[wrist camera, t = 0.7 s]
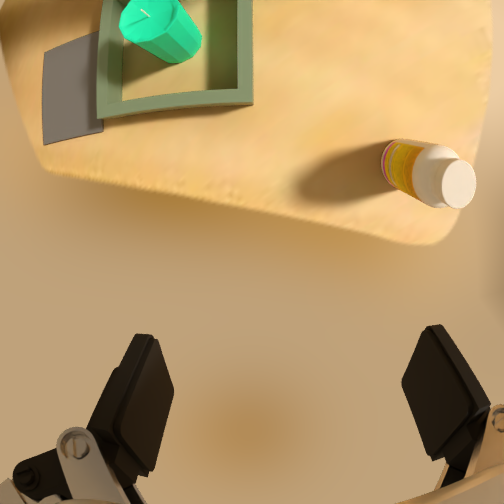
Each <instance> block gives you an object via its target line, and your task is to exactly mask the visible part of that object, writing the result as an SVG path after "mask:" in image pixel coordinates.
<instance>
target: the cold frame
mask: <svg viewBox="0 0 504 504" xmlns="http://www.w3.org/2000/svg"><path fill="white" fill-rule="evenodd" d="M129 2H130V0H103V5H102V12H101V21H100V30H99V42H98V57H97V119H113V118H119V117H124V116H130V115H136V114H143V113H150V112H157V111H166V110H175V109H185V108H196V107H211V106H233V105H253V0H237V69H238V89H219V90H204V91H192V92H182V93H173V94H165V95H158V96H151V97H144V98H138V99H133V100H127V101H122V60H123V40H124V36H123V34H122V33H121V31H120V29H119V22H120V17H121V13H122V11H123V10H124V9H125V7H126V6H127V5H128V3H129Z"/></svg>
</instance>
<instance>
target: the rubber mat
mask: <svg viewBox="0 0 504 504" xmlns="http://www.w3.org/2000/svg"><path fill="white" fill-rule="evenodd" d="M98 42H99V31H97V32H94V33H91V34H89V35H86V36H83V37H80V38H78V39H75V40H72V41H70V42H67V43H65V44H63V45H60V46H58V47H56V48H53V49H51V50H49V51H47V52H45V54H44V66H43V86H42V120H43V141H44V145H46V144H50V143H53V142H57V141H61V140H65V139H70V138H74V137H78V136H83V135H88V134H92V133H98V132H103V119H97V57H98Z"/></svg>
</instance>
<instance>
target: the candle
mask: <svg viewBox="0 0 504 504" xmlns="http://www.w3.org/2000/svg"><path fill="white" fill-rule="evenodd" d="M119 29H120V31H121V33H122V34H123V36H124V38H125V39H127V40H129V41H131V42H132V43H134V44H136V45H138V46H140V47H141V48H143V49H145V50H147V51H148V52H150V53H152V54H153V55H155V56H157V57H158V58H160V59H162V60H164V61H166V62H168V63H182V62H184V61H186V60H188V59H190V58H192V57H193V56H194V55H195V53H196V52H197V51H198V50H199V48H200V47H201V40H202V35H201V33H200V32H199V30H198V28H197V26H196V25H195V23H194V22H193V21H192V19H191V18H190V16H189V15H188V14H187V12H186V11H185V9H184V8H183V7H182V5H181V4H180V3H179V1H178V0H130V2H129V3H128V5H127V6H126V7H125V9H124V10H123V11H122V13H121V17H120V22H119Z"/></svg>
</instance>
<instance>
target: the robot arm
mask: <svg viewBox="0 0 504 504" xmlns="http://www.w3.org/2000/svg"><path fill="white" fill-rule="evenodd" d="M402 388H403V391H404V393H405V396H406V398H407V401H408V403H409V406H410V409H411V411H412V414H413V417H414V419H415V422H416V425H417V428H418V430H419V433H420V436H421V439H422V442H423V445H424V448H425V451H426V453H427V455H429V456H431V459H432V461H435V460H437V459H440V458H443V457H445V460H446V464H445V466H444V469H443V471H442V474H441V476H440V478H439V481H438V483H437V485H436V487H435V489H434V491H432V492H429V493H427V494H424V495H421V496H418V497H415V498H412V499H409V500H406V501H403V502H399V503H396V504H504V405H502V404H500V405H496V406H494V407H493V408H492V409H490V407H489V406H490V405H491V403H490V401H489V399H488V397H487V396H486V394H485V392H484V390H483V388H482V387H481V385H480V383H479V381H478V380H477V378H476V376H475V375H474V373H473V371H472V370H471V368H470V367H469V365H468V363H467V362H466V360H465V358H464V357H463V355H462V354H461V352H460V351H459V349H458V348H457V346H456V345H455V343H454V341H453V340H452V339H451V337H450V336H449V334H448V333H447V331H446V330H445V328H444V327H443V326H442V325H440V324H439V325H432V326H427V327H426V328H425V330H424V331H423V332H422V333H421V336H420V338H419V340H418V343H417V345H416V348H415V351H414V353H413V355H412V357H411V360H410V362H409V365H408V367H407V369H406V371H405V373H404V376H403V378H402ZM173 396H174V387H173V384H172V381H171V379H170V375H169V372H168V370H167V366H166V363H165V360H164V357H163V354H162V351H161V348H160V345H159V342H158V340H157V339H154V337H153V336H152V335H149V334H135V336H134V337H133V339H132V341H131V343H130V345H129V347H128V349H127V351H126V353H125V355H124V357H123V359H122V361H121V363H120V365H119V367H116V368H115V369H114V370H113V372H112V374H111V376H110V378H109V380H108V382H107V384H106V386H105V388H104V390H103V392H102V394H101V397H100V399H99V401H98V403H97V405H96V408H95V410H94V412H93V414H92V416H91V418H90V421H89V423H88V425H87V428H86V429H84V428H82V427H72V428H69V429H67V430H65V431H64V432H63V433H62V434H61V435H60V436H59V438H58V440H57V444H56V448H55V449H52V450H50V451H47V452H45V453H42V454H40V455H37V456H34V457H32V458H29V459H26V460H24V461H22V462H20V463H18V464H17V465H16V467H15V469H14V471H13V479H12V480H11V479H9V478H8V479H6V480H5V481H4V482H2V483H1V484H0V504H147V503H146V501H145V500H144V498H143V496H142V495H141V493H140V491H139V490H138V488H137V486H136V485H135V483H136V480H137V476H138V475H140V476H144V477H148V474H149V471H153V470H154V468H155V465H156V461H157V457H158V453H159V449H160V445H161V441H162V437H163V433H164V429H165V426H166V422H167V418H168V415H169V411H170V407H171V403H172V400H173Z"/></svg>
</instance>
